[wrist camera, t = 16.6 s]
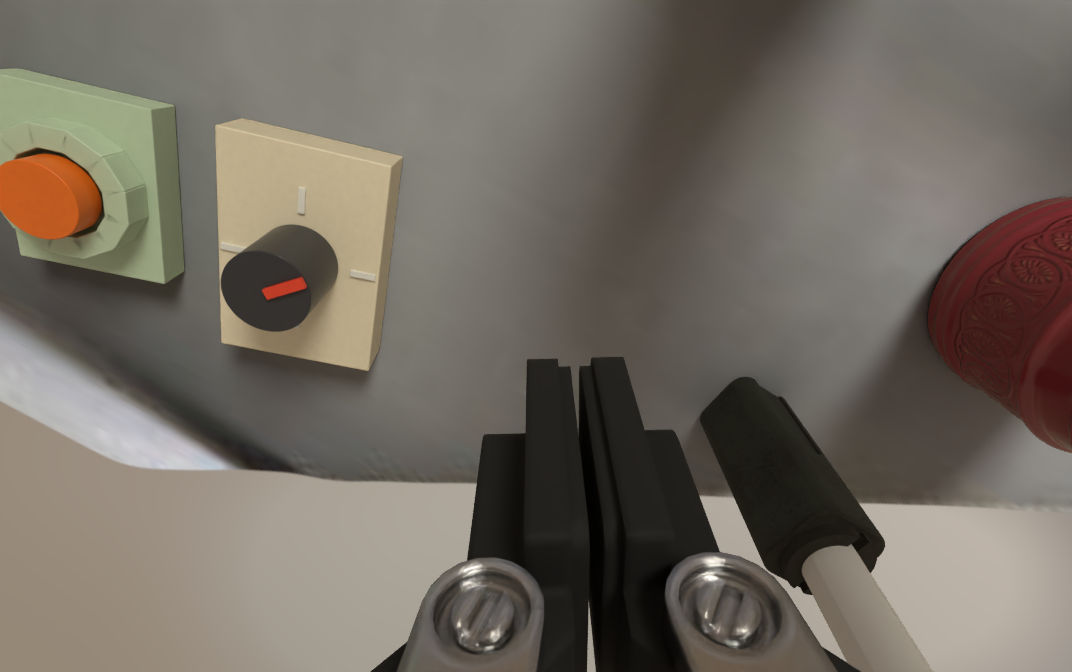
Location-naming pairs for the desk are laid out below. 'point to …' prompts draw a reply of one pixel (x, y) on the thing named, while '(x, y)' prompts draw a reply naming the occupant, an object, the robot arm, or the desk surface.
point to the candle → (807, 523)
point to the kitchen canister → (1014, 316)
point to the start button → (48, 196)
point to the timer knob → (279, 278)
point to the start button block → (102, 171)
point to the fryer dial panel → (324, 206)
